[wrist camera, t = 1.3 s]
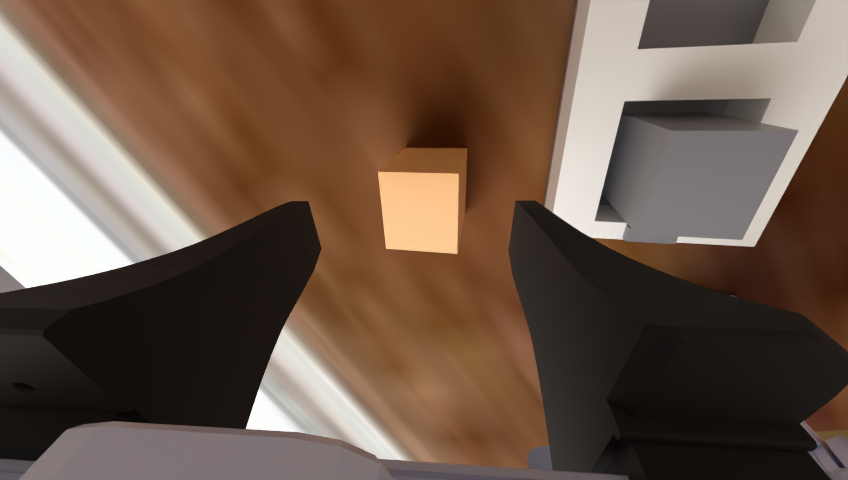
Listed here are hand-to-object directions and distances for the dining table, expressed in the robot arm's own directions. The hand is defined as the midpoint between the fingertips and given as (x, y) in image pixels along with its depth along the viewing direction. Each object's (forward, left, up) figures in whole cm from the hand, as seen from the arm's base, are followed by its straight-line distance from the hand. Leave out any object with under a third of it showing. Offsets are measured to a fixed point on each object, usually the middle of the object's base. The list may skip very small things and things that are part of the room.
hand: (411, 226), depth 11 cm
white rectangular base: (+4, -11, -10) cm, 16 cm away
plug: (-2, +1, -10) cm, 10 cm away
